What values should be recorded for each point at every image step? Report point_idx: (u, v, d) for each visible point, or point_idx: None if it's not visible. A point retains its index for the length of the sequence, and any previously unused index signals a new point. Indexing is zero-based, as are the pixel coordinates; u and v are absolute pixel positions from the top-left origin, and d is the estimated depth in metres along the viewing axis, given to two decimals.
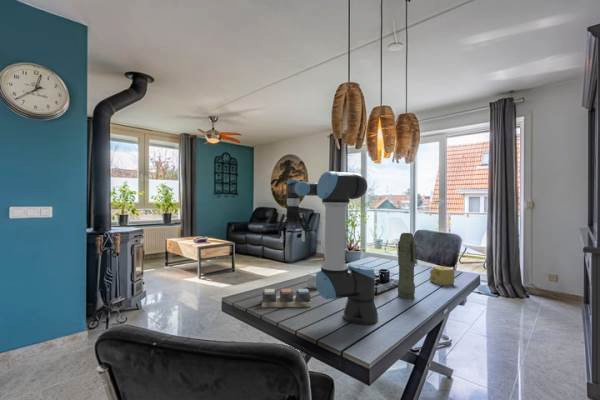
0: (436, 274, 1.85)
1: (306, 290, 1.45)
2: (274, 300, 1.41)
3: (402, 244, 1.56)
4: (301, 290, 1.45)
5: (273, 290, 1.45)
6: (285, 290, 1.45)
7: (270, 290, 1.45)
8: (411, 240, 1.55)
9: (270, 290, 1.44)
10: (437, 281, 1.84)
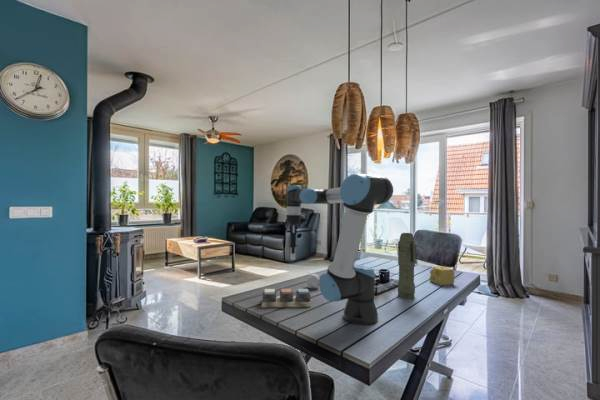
0: (436, 274, 1.85)
1: (306, 290, 1.45)
2: (274, 300, 1.41)
3: (402, 244, 1.56)
4: (301, 290, 1.45)
5: (273, 290, 1.45)
6: (285, 290, 1.45)
7: (270, 290, 1.45)
8: (411, 240, 1.55)
9: (270, 290, 1.44)
10: (437, 281, 1.84)
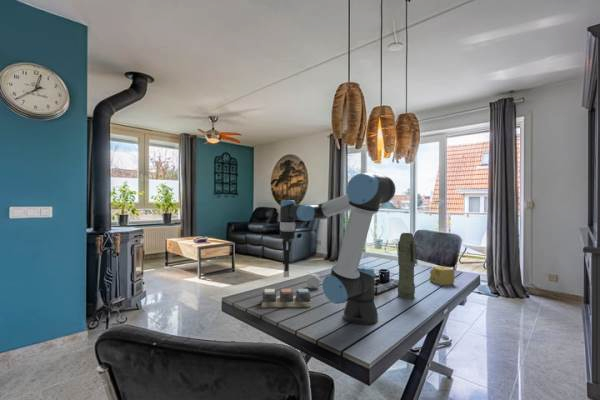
0: (436, 274, 1.85)
1: (306, 290, 1.45)
2: (274, 300, 1.41)
3: (402, 244, 1.56)
4: (301, 290, 1.45)
5: (273, 290, 1.45)
6: (285, 290, 1.45)
7: (270, 290, 1.45)
8: (411, 240, 1.55)
9: (270, 290, 1.44)
10: (437, 281, 1.84)
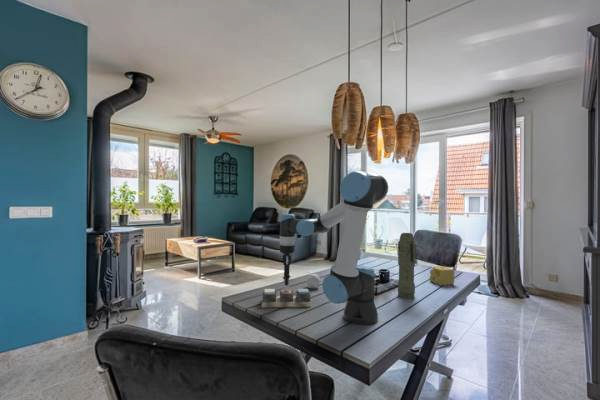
0: (436, 274, 1.85)
1: (306, 290, 1.45)
2: (274, 300, 1.41)
3: (402, 244, 1.56)
4: (301, 290, 1.45)
5: (273, 290, 1.45)
6: (285, 291, 1.45)
7: (270, 290, 1.45)
8: (411, 240, 1.55)
9: (270, 290, 1.44)
10: (437, 281, 1.84)
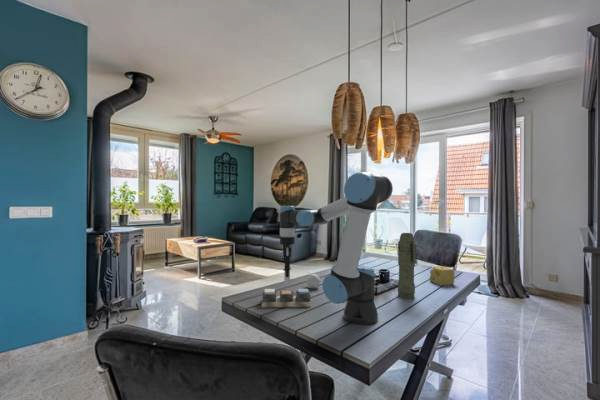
0: (436, 274, 1.85)
1: (306, 290, 1.45)
2: (274, 300, 1.41)
3: (402, 244, 1.56)
4: (301, 290, 1.45)
5: (273, 290, 1.45)
6: (285, 292, 1.45)
7: (270, 290, 1.45)
8: (411, 240, 1.55)
9: (270, 290, 1.44)
10: (437, 281, 1.84)
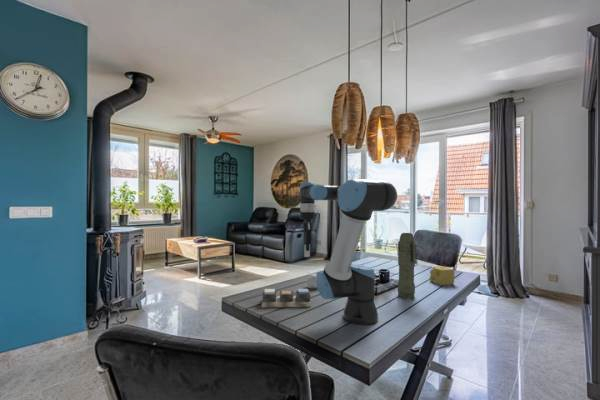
0: (436, 274, 1.85)
1: (306, 290, 1.45)
2: (274, 300, 1.41)
3: (402, 244, 1.56)
4: (301, 290, 1.45)
5: (273, 290, 1.45)
6: (285, 292, 1.45)
7: (270, 290, 1.45)
8: (411, 240, 1.55)
9: (270, 290, 1.44)
10: (437, 281, 1.84)
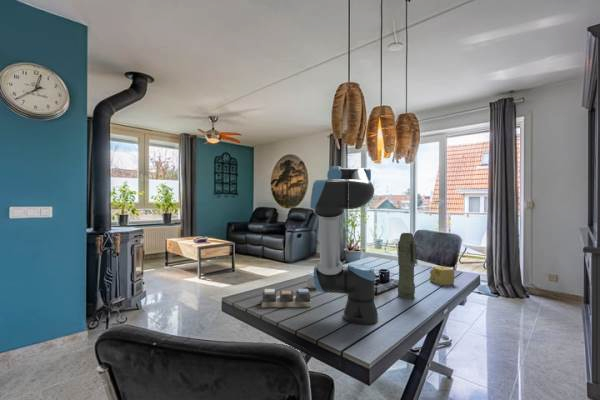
0: (436, 274, 1.85)
1: (306, 290, 1.45)
2: (274, 300, 1.41)
3: (402, 244, 1.56)
4: (301, 290, 1.45)
5: (273, 290, 1.45)
6: (285, 292, 1.45)
7: (270, 290, 1.45)
8: (411, 240, 1.55)
9: (270, 290, 1.44)
10: (437, 281, 1.84)
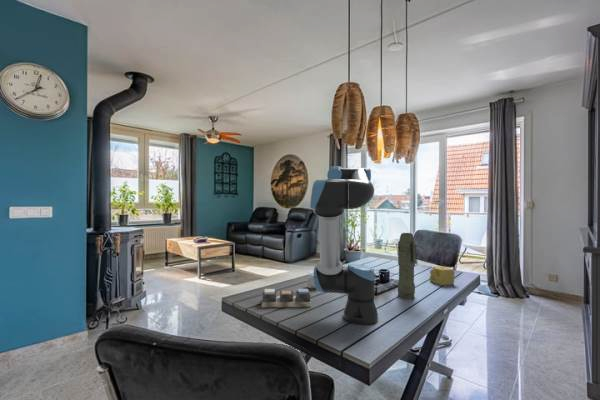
0: (436, 274, 1.85)
1: (306, 290, 1.45)
2: (274, 300, 1.41)
3: (402, 244, 1.56)
4: (301, 290, 1.45)
5: (273, 290, 1.45)
6: (285, 292, 1.45)
7: (270, 290, 1.45)
8: (411, 240, 1.55)
9: (270, 290, 1.44)
10: (437, 281, 1.84)
